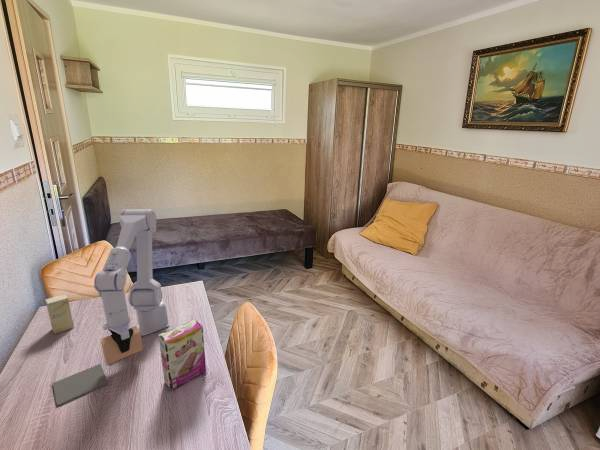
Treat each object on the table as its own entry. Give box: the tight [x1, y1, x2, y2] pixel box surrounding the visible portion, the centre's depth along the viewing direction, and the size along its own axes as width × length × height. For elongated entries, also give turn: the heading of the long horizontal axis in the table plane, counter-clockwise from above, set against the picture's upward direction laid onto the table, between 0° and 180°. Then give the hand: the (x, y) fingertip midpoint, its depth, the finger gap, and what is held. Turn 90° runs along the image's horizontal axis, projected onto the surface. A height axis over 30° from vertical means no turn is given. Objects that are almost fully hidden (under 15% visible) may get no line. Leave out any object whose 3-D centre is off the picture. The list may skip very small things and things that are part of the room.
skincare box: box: [45, 293, 75, 335], centre depth 116 cm, size 6×4×12 cm
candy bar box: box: [158, 319, 207, 392], centre depth 94 cm, size 11×5×16 cm, turn 134°
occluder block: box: [99, 325, 144, 365], centre depth 98 cm, size 10×4×6 cm, turn 131°
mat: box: [52, 363, 109, 407], centre depth 93 cm, size 12×10×1 cm
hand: (123, 347), depth 99 cm, fingers closed on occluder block, 4 cm apart
